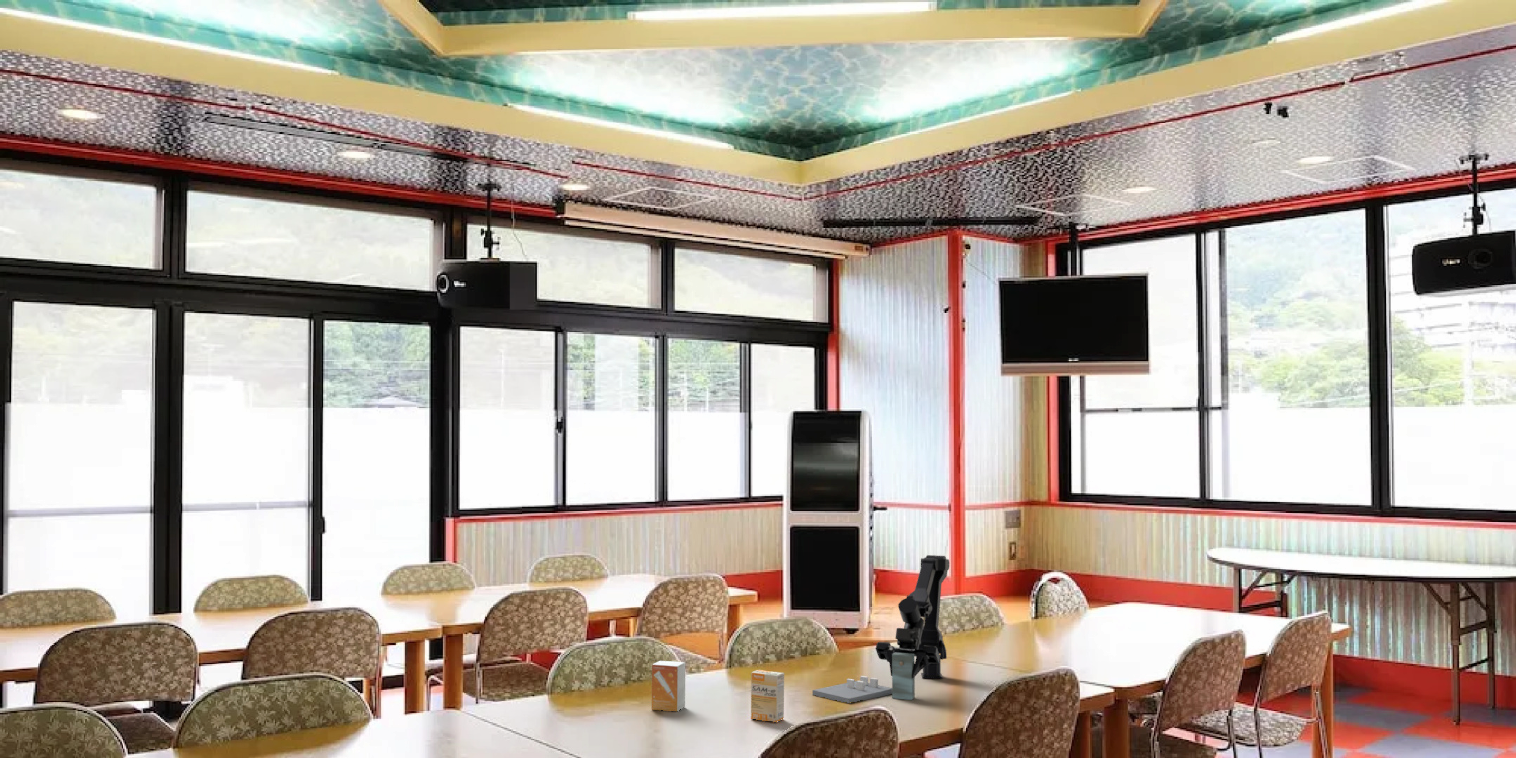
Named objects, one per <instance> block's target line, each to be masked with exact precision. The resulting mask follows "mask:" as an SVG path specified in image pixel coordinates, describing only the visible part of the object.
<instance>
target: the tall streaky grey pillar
mask: <svg viewBox="0 0 1516 758" xmlns="http://www.w3.org/2000/svg"><path fill="white" fill-rule="evenodd" d="M914 664H915V656H914V654H909V653H897V652H895V653H893V654H892V676H891V680H892V681H891V685H892V687H891V688H892V694H891V695H892V697H891V698H892V699H895V700H896V699H897V700H907V701H912V700H914V699H915V695H916V693H915V691H916V687H915V686H916V685H915V684H916V683H915V679H916V678H915V677H916V676H915V677H914V678H912V671H913V667H914Z"/></svg>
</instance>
